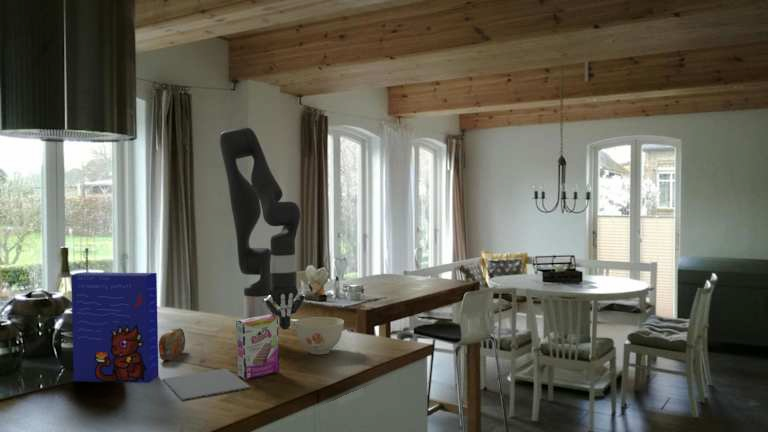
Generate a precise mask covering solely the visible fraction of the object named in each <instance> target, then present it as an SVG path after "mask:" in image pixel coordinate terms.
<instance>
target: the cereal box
mask: <svg viewBox="0 0 768 432" xmlns="http://www.w3.org/2000/svg"><path fill="white" fill-rule="evenodd" d="M157 275H158V273H157V272H99V271H98V272H95V271H94V272H92V271H91V272H77V273H74V274H71V275H70V278H71V279H70V280H71V282H70V283H71V317H72V320H71V321H72V324H71V325H72V353H73V354H72V357H73V359H72V360H73V382H88V383H89V382H93V383H124V384H125V383H127V384H128V383H130V384H131V383H132V384H150V383H151V382H153V381H154V380H156V379H157V378H159V375H160V374H159V337H158V336H159V333H158V332H159V331H158V329H159V328H158V327H159V326H158V325H159V323H158V286H157V283H158V279H157V277H158V276H157Z"/></svg>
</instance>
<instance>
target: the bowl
mask: <svg viewBox="0 0 768 432" xmlns="http://www.w3.org/2000/svg"><path fill="white" fill-rule="evenodd" d="M294 324H295V325H294V326H295V330H296V333H297V337H298V340H299V342H300V344H301V345H302V346H303V347H304V348H306V349H308V350H309V352H310V354H313V355H325V354H329V353H330V351H331V350H332V349H333V348H334V347H335V346H336V345H337V344H338V343H339V341H340V340H341V338H342V334H343V330H344V326H345V325H344V324H345V321H344V320H343V319H342V318H339V317H338V318H337V317H334V316H314V317H313V316H312V317H311V316H310V317H305V318H301V319H300V318H299V319H297V320H296V321H295V322H294Z"/></svg>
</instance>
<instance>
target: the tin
mask: <svg viewBox="0 0 768 432" xmlns="http://www.w3.org/2000/svg"><path fill="white" fill-rule="evenodd" d="M185 346H186V336H185V331H184V330H183V329H182V328H173V329H170V330H168V331H167V332H166V333H164V334H162V335H161V336H160V338H159V339H158V354H159V358H160V360H162V361H173V360H174V359H176V358H178V357H179V356H181V355H182V354H183V352H184V350H185Z"/></svg>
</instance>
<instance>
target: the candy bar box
mask: <svg viewBox="0 0 768 432" xmlns="http://www.w3.org/2000/svg"><path fill="white" fill-rule="evenodd" d="M235 327H236V329H235V330H236V351H237V353H236V354H237V355H236V356H237V357H236V359H237V377H238V378H239V379H241V380H243V381H247V380H251V379H255V378H256V379H257V378H259V377H263V376H264V377H265V376H267V375H268V376H269V375H272V374H275V373H279V372H280V346H279V316H277V315H274V314H272V315H264V316H258V317H253V318H247V319H244V318H242V319H237V320H235Z"/></svg>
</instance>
